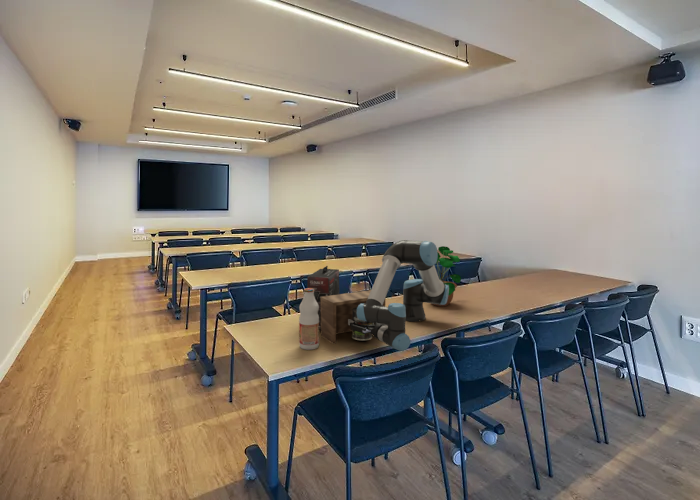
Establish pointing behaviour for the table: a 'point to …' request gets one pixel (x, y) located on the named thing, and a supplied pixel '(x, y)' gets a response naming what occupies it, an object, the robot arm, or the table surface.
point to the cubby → (339, 312)
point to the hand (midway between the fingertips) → (357, 320)
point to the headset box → (323, 285)
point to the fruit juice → (309, 321)
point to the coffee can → (359, 335)
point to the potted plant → (447, 263)
